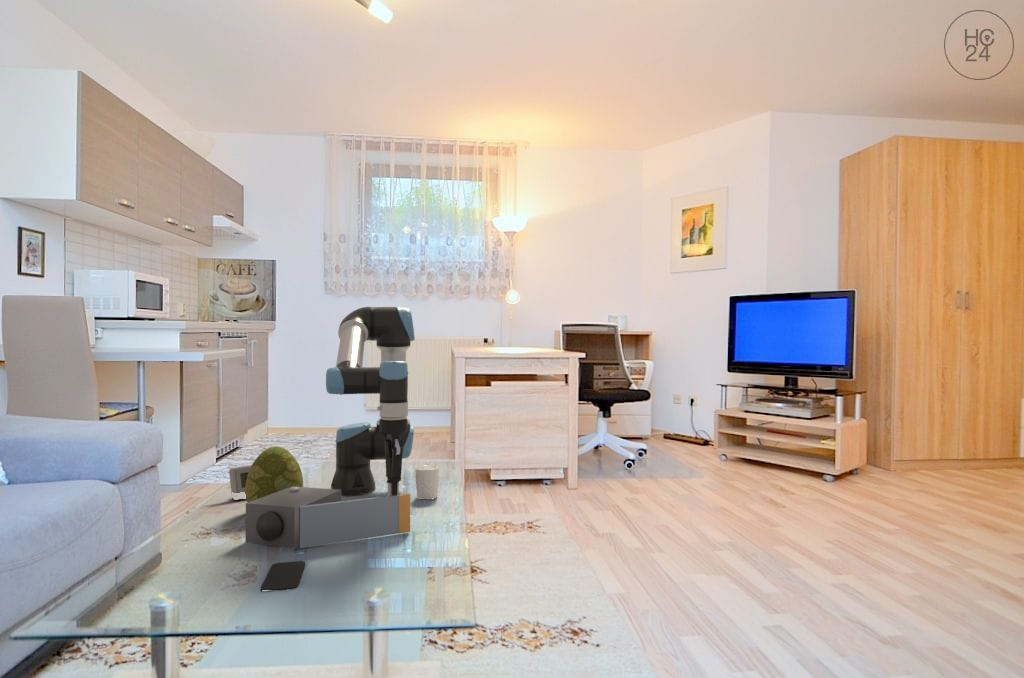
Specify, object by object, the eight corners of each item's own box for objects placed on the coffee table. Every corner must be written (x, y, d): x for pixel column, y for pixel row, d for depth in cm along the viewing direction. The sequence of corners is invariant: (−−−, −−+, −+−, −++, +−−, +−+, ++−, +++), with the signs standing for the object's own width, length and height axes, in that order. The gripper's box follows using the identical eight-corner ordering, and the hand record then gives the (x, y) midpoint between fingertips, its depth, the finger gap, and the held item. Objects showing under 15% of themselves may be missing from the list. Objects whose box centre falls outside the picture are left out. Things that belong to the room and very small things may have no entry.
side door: (408, 531, 156) (408, 492, 156) (410, 532, 154) (410, 493, 155) (294, 548, 142) (294, 506, 143) (294, 549, 141) (294, 507, 141)
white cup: (437, 500, 188) (437, 470, 188) (413, 500, 188) (413, 470, 188) (440, 494, 196) (440, 465, 196) (417, 494, 196) (417, 465, 196)
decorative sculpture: (269, 523, 164) (269, 453, 164) (233, 515, 172) (233, 448, 173) (314, 509, 178) (314, 444, 179) (279, 502, 186) (279, 440, 187)
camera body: (292, 521, 166) (292, 483, 166) (341, 525, 162) (341, 486, 162) (241, 544, 146) (241, 501, 146) (295, 550, 142) (295, 506, 142)
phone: (259, 590, 117) (272, 563, 132) (259, 594, 117) (272, 566, 132) (297, 586, 119) (306, 560, 134) (297, 590, 119) (306, 564, 134)
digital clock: (230, 502, 187) (230, 469, 187) (227, 496, 194) (227, 465, 194) (283, 495, 195) (283, 464, 195) (278, 490, 203) (278, 460, 203)
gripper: (375, 416, 159) (374, 501, 159) (384, 421, 148) (383, 513, 147) (402, 414, 162) (401, 498, 162) (413, 420, 151) (412, 510, 150)
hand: (393, 505), depth 155 cm, fingers closed
